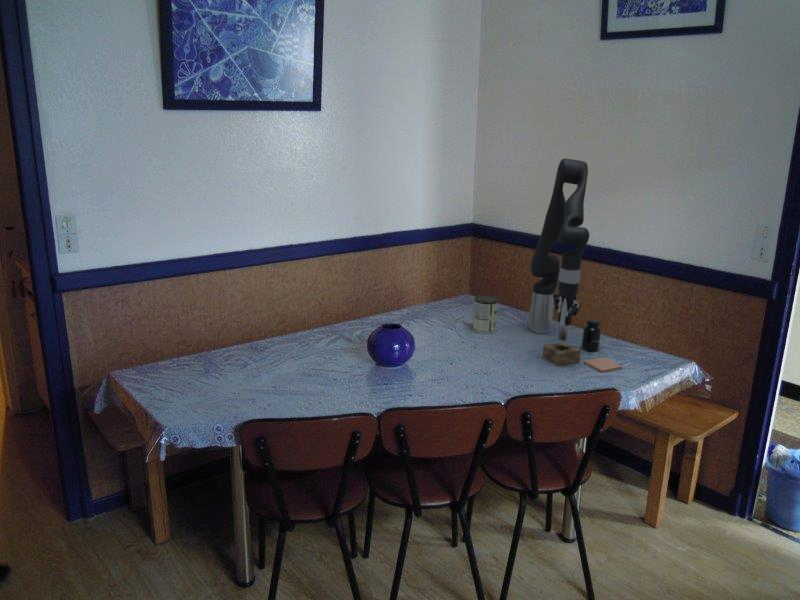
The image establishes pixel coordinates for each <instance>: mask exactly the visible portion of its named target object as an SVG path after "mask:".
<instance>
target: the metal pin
mask: <svg viewBox="0 0 800 600" xmlns="http://www.w3.org/2000/svg"><path fill="white" fill-rule="evenodd" d="M568 308H570V307H568ZM569 313H570V310H569ZM565 316H566V310H565V303H564V301H563V302H562V308H561V317H560V322H559V328H558V336H557V338H558V340H560V341H566V340H567V339H568V331H569V326H566V325H565ZM567 341H568V340H567Z"/></svg>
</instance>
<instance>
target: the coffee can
mask: <svg viewBox="0 0 800 600" xmlns="http://www.w3.org/2000/svg"><path fill="white" fill-rule="evenodd" d="M473 297H474V299H473V300H474V303H473V304H474V305H473V320H472V323H473V324H472V330H473V331H474V332H477V333H480V334H492V333H495V332H496V331H497V326H498V325H497V323H498V313H499V312H498V310H499V309H498V308H499V301H500V298H499V297H497V296H495V295H489V294H479V295H475V296H473Z"/></svg>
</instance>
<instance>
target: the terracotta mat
mask: <svg viewBox="0 0 800 600" xmlns="http://www.w3.org/2000/svg"><path fill="white" fill-rule="evenodd" d="M583 364H584V365H586V366H588V367H590V368H591V369H594V370H595V371H598V372H599V373H601V374H602V373H603V374H604V373H608V372H612V371H618V370H622V369H623V366H622V365H620V364H618V363H617V362H614V361H612V360H611V359H609V358H606V357H604V356H603V357H598V358H592V359H591V358H590V359H586V360H583Z"/></svg>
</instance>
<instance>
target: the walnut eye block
mask: <svg viewBox="0 0 800 600" xmlns="http://www.w3.org/2000/svg"><path fill="white" fill-rule="evenodd" d="M542 345H543V344H542ZM581 353H582V350H581V349H579V348H577V347H576V346H573V345H571V344H569V343H567V342H565V341H561V342H555V343H550V344H544V345H543V347H542V359H544V360H547V361H548V362H550V363H551V364H553V365H555V366H557V367H564V366H565V367H566V366H569V365H574V364H579V363H580V362H581V357H582V355H581Z"/></svg>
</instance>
